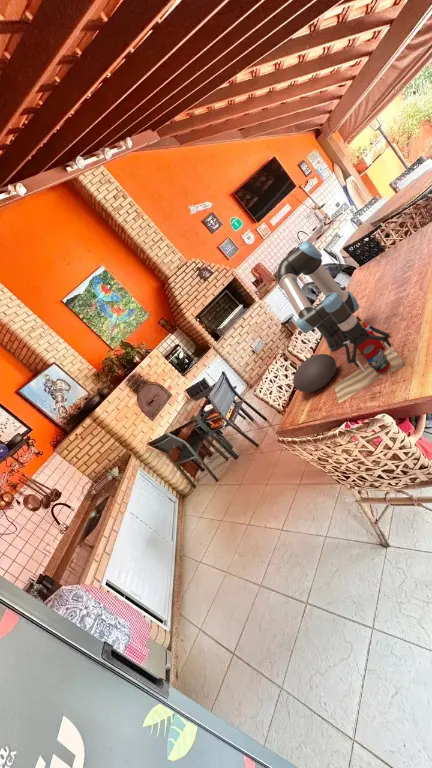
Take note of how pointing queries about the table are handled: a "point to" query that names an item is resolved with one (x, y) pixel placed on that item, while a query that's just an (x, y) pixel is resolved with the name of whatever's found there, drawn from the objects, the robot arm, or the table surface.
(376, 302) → the table surface
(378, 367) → the beverage can
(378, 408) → the table surface
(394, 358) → the subfloor panel
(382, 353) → the block
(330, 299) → the robot arm
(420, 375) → the table surface
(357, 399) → the table surface
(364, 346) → the red mechanical device
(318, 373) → the flattened ellipsoid
